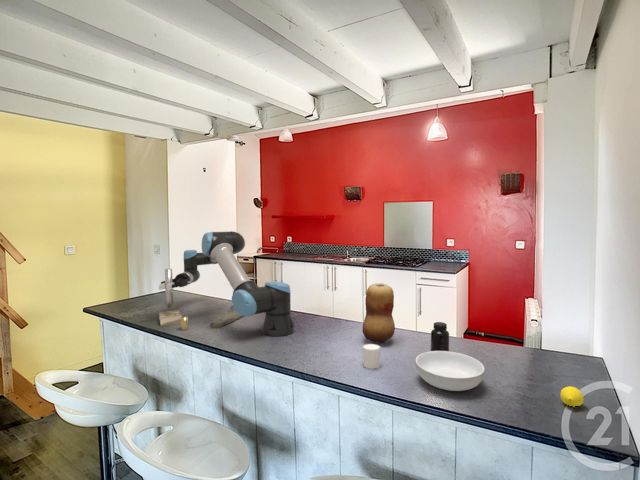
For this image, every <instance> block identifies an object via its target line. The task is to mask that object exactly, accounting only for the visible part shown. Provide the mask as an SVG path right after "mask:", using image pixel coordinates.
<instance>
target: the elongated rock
mask: <svg viewBox="0 0 640 480" xmlns="http://www.w3.org/2000/svg"><path fill="white" fill-rule="evenodd" d="M243 317H244V316H240V315H239V314H237V313H236V311H235V310H234V308H233V305H231V306H230V309H229V310H228V312H226V313H224V314H221V316H218V317H215V318H214V319H212V320H211V322H210V323H209V326H211V328H213V329H218V328H222V327H223V326H226V325H228V324H233V322H236V321H237V320H240V318H243Z"/></svg>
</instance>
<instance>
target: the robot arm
mask: <svg viewBox="0 0 640 480" xmlns="http://www.w3.org/2000/svg"><path fill="white" fill-rule="evenodd" d="M245 241H246V240H245V238H244V237H243V235H242V234H240V233H239V232H237V231H232V230H231V231H210V232H206V233H203V235H202V238H201V252H198V251H197V250H196V249H188V250H187V249H186V250H184V251H183V259H182V260H183V272H181V273H178V274H177V275H176V276H175V278H172V282H173V283H171V284H168V285H167V290H170V289H174V288H184V287H187V286H188V285H190V284H192V283H195V282H197V281H199V279H200V277H201V273H200V271H199V270H198V266H206V265H207V266H208V265H216V264H218V266H219V268H220V269H221V271H222V273H223V274H224V276H225V277H226V280H227V281H228V283H229V285H230V287H231V288H232V289H233V291H232V295H231V304H232V306H233V308H234V310H235V311H236V313H237V314H239V315H240V316H243V317H250V316H251V317H252V316H254V315H258V314H264V313H265V316H264V321H263V324H262V327H261V330H262V331H261V332H262V334H264V335H266V336H270V337H283V336H288V335H291V334H293V333H295V324H294V323H295V322H294V321H293V317H292V313H291V311H292V310H291V293H292V292H291V286H290V285H289V284H288V283H285V282H280V281H267V282H265V283H264V286H259V285H258V283H256V282H255V281H254V280H252V279H250V278H249V276H248V275H247V272H245V269H244V268H243V267H242V266H241V264H240V262H239V260H238V258H236V256H235V255H236V254H238V253H240V252H242V251H243V250H244V249H245V246H246V242H245ZM158 290H159V291H162V290H165V280H163V281H160V284H159V285H158Z"/></svg>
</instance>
